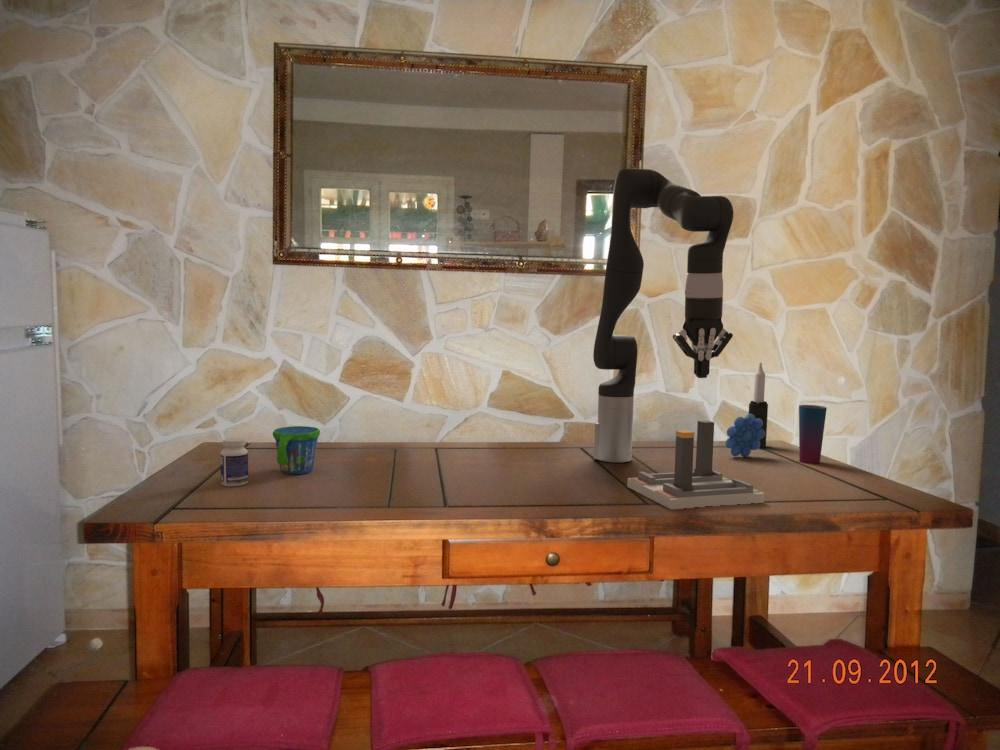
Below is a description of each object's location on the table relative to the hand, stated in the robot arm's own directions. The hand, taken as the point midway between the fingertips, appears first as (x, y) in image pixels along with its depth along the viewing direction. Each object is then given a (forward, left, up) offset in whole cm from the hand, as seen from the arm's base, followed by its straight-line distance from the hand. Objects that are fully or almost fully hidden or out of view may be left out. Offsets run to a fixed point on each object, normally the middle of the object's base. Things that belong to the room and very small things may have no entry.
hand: (701, 377), depth 153 cm
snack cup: (-88, -27, -26) cm, 96 cm away
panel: (-1, +2, -26) cm, 26 cm away
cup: (+18, +54, -26) cm, 62 cm away
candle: (+2, +70, -26) cm, 75 cm away
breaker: (-1, -6, -24) cm, 24 cm away
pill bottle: (-91, -43, -26) cm, 104 cm away
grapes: (+1, +52, -26) cm, 58 cm away
